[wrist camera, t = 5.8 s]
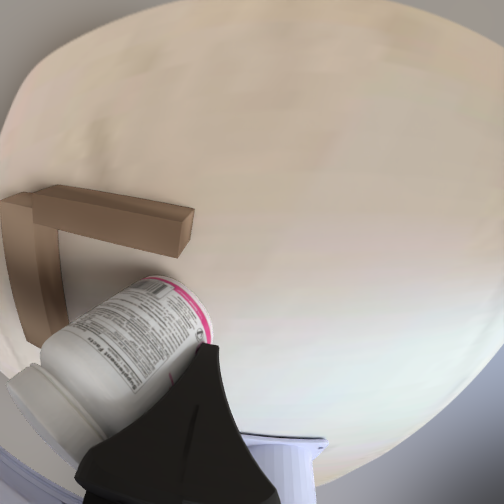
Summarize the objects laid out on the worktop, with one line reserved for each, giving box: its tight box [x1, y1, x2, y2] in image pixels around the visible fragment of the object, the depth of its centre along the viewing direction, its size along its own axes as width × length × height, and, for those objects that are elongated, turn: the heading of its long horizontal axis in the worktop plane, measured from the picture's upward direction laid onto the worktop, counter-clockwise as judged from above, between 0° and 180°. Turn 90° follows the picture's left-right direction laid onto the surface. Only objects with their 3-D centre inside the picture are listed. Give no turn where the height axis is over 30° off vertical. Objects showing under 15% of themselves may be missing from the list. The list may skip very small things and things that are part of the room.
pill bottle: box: [6, 275, 213, 470], centre depth 9 cm, size 5×5×8 cm
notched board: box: [0, 185, 195, 348], centre depth 12 cm, size 11×10×2 cm
